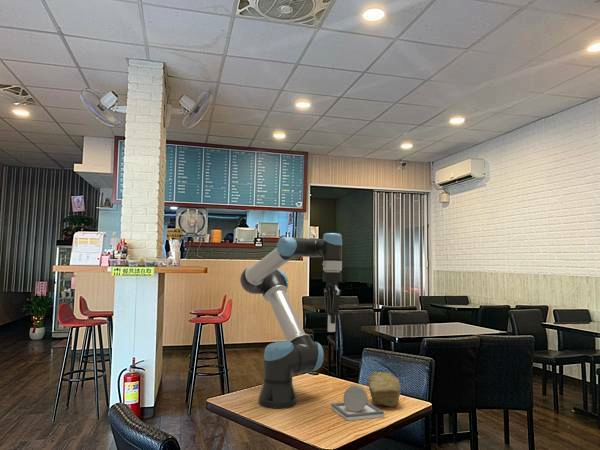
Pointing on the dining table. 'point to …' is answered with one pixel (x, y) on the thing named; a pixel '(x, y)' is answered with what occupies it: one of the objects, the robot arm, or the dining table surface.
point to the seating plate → (365, 413)
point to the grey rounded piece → (355, 398)
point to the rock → (384, 389)
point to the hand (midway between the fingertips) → (331, 331)
